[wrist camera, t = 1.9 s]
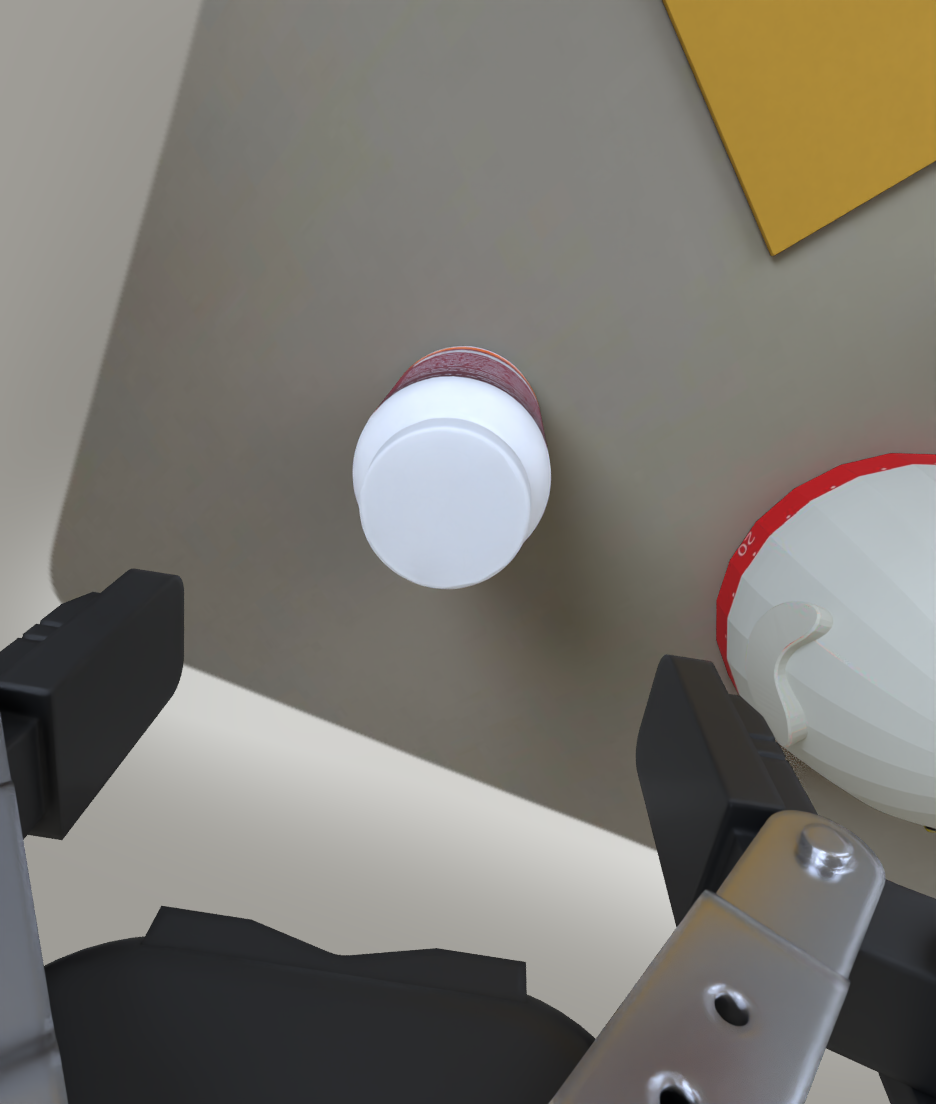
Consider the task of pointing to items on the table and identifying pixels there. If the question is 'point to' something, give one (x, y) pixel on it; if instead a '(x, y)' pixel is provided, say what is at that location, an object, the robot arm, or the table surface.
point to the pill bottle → (453, 469)
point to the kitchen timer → (845, 629)
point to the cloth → (814, 100)
